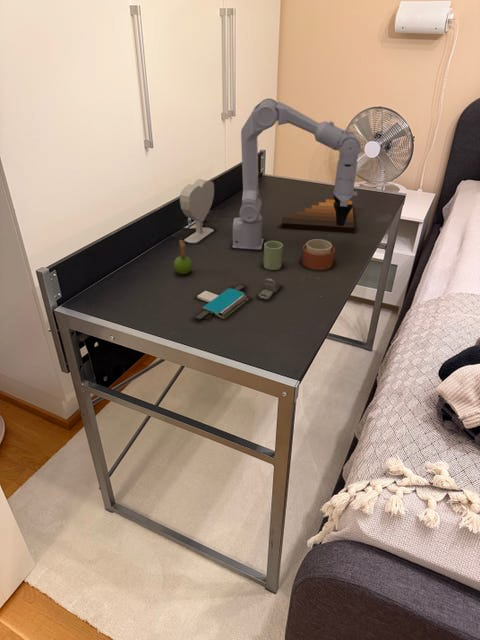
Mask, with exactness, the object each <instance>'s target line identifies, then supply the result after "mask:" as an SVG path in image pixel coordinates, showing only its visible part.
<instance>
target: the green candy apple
mask: <svg viewBox="0 0 480 640" xmlns="http://www.w3.org/2000/svg"><path fill="white" fill-rule="evenodd" d="M178 247H179V256H177V257H176V258H175V260H174V262H173V268H174V270H175V272H177V273H178V274H180V275H187V274H189V273H190V272H191V271H192V270H193V261H192V259H191V258H190V257H189V256H187V254H186V253H187V250H186V241H185V240H183V239H179V241H178Z"/></svg>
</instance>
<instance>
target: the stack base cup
mask: <svg viewBox="0 0 480 640" xmlns="http://www.w3.org/2000/svg"><path fill="white" fill-rule="evenodd" d="M335 249H336V248H335V246H333V245H332V250H331V253H329V254H313V253H310V252H308V251H306V243H304V244H303V246H302V253H301V255H302V256H301V264H302V266H304V267H305V268H307V269H309V270H314V271H326V270H328V269H330V268H332V267H333V265H334V258H335V251H336V250H335Z"/></svg>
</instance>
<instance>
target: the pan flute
mask: <svg viewBox="0 0 480 640" xmlns="http://www.w3.org/2000/svg"><path fill="white" fill-rule="evenodd" d="M334 202H335V200H334V199H329V198H326V199H325V202H322V201H318V205H317V204H312V205H311V207H310V208H309V207H304V210H303V211H301V210H298V211H297V214H291V213H290V214H289V217H282V218H281V229H294V230H308V231H309V230H310V231H323V232H324V231H326V232H338V233H354V230H355V218H354V210H353V209H354V208H353V207H354V206H353V207H352V209H351V210H350V212H349V214H348V216H347V218H346V221H345V224H344V226H337V223H336V211H335V208H334ZM348 204H353V200H348Z"/></svg>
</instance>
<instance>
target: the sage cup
mask: <svg viewBox="0 0 480 640" xmlns="http://www.w3.org/2000/svg"><path fill="white" fill-rule="evenodd" d="M263 244H264V245H263V264H262V265H263V267H264V269H267V270H270V271H276V270H277V271H278V270H280V269H281V268H282V265H283V248H284V244H283V243H282V242H281V241H278V240H268V241H266V242H264V243H263Z"/></svg>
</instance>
